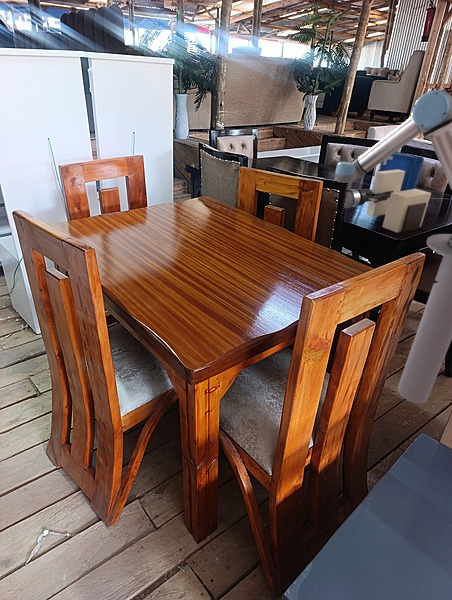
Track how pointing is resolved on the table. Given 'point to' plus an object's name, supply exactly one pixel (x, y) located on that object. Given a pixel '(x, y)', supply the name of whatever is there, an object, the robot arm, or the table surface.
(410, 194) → the cream upright block
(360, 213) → the table surface
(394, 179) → the cream book
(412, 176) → the book
